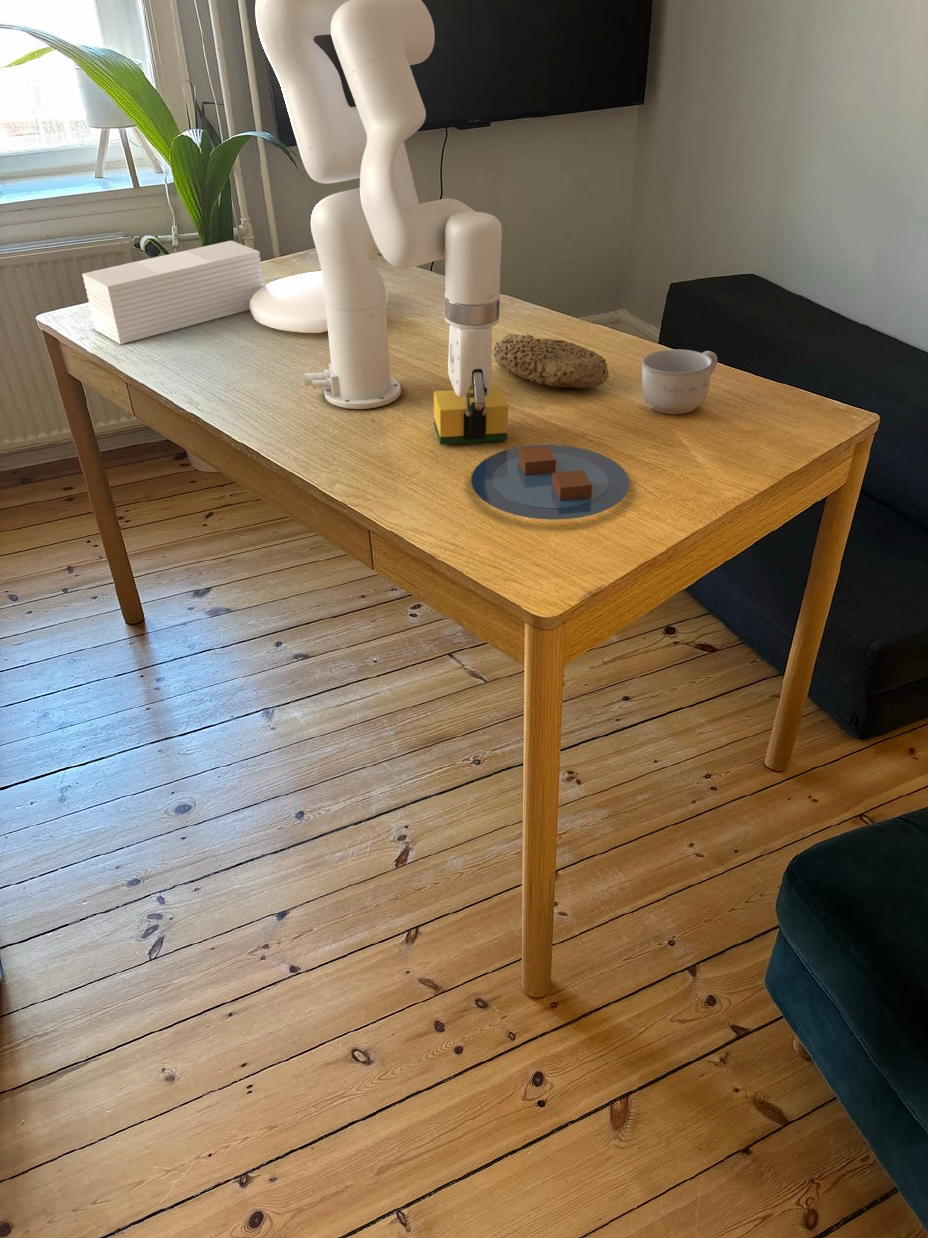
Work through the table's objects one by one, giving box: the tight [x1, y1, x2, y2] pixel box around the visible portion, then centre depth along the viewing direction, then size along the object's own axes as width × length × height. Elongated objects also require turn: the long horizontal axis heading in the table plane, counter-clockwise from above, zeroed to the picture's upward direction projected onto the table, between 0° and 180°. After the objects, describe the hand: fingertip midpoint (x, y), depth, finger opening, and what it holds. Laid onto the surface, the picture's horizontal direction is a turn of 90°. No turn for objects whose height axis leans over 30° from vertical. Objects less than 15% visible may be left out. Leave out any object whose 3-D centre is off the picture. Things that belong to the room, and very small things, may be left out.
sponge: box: [492, 333, 610, 389], centre depth 165 cm, size 13×8×20 cm
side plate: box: [470, 444, 631, 521], centre depth 136 cm, size 22×22×1 cm
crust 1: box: [518, 446, 556, 475], centre depth 138 cm, size 4×4×2 cm
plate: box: [249, 270, 390, 334], centre depth 194 cm, size 28×6×27 cm
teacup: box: [641, 348, 718, 415], centre depth 156 cm, size 14×11×8 cm
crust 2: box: [552, 470, 592, 501], centre depth 132 cm, size 4×4×2 cm
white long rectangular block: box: [81, 240, 265, 345], centre depth 192 cm, size 32×11×11 cm, turn 132°
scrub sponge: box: [433, 387, 509, 445], centre depth 146 cm, size 10×6×6 cm, turn 99°
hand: (470, 426), depth 147 cm, fingers closed on scrub sponge, 6 cm apart
